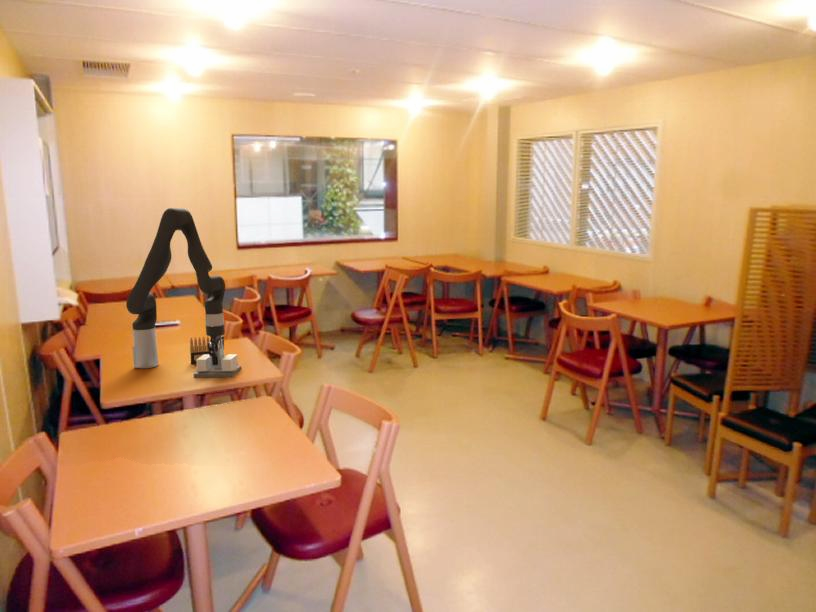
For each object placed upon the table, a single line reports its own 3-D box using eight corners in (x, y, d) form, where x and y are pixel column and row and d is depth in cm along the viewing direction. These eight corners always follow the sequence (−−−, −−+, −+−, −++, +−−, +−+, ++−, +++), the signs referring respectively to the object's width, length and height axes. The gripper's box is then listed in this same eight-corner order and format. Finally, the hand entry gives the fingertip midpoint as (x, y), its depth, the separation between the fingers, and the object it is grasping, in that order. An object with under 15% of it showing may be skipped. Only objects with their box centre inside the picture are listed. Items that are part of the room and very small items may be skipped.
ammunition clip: (190, 364, 272) (188, 338, 270) (190, 363, 273) (189, 337, 271) (215, 361, 275) (213, 336, 273) (215, 360, 277) (213, 335, 275)
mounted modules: (197, 371, 251) (196, 359, 251) (204, 365, 260) (204, 354, 259) (231, 371, 251) (230, 359, 250) (238, 365, 260) (237, 354, 259)
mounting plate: (193, 377, 250) (193, 372, 249) (205, 369, 263) (204, 364, 262) (232, 377, 249) (231, 372, 249) (241, 368, 262) (241, 364, 262)
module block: (211, 367, 253) (210, 349, 252) (215, 364, 258) (214, 346, 257) (220, 367, 253) (219, 349, 252) (224, 364, 258) (223, 346, 257)
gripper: (212, 320, 260) (214, 359, 262) (199, 327, 245) (202, 367, 248) (229, 320, 259) (231, 358, 262) (218, 327, 245) (220, 367, 248)
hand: (217, 362), depth 255 cm, fingers closed on module block, 5 cm apart
